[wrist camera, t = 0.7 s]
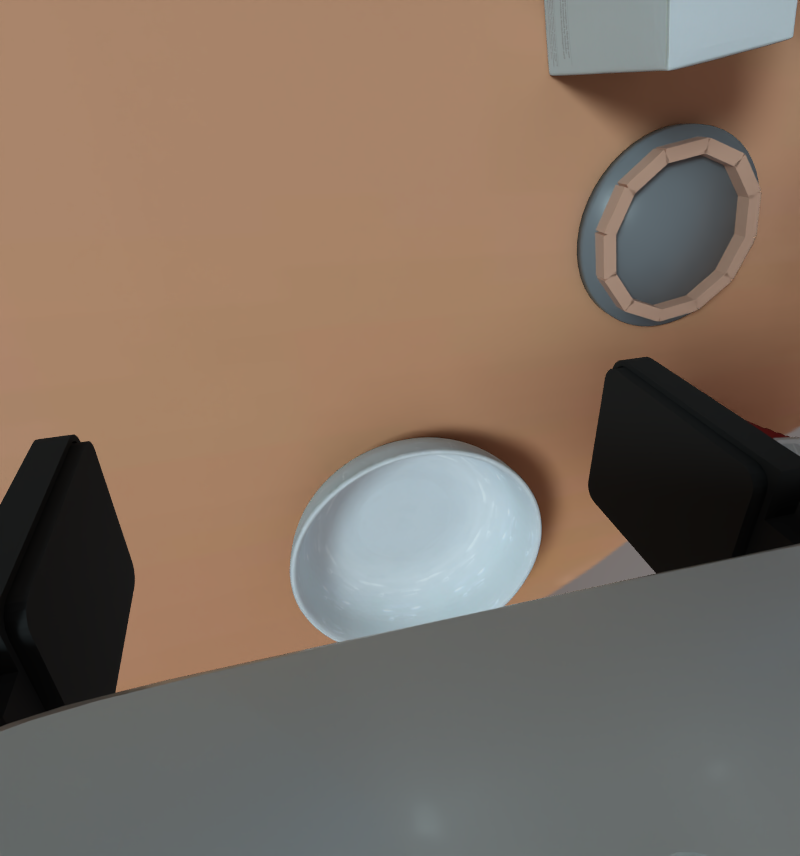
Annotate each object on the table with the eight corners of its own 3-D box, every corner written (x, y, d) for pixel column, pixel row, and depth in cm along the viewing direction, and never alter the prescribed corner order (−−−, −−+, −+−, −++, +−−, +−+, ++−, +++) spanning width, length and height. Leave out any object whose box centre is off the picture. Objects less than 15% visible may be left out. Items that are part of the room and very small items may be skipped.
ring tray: (572, 150, 43) (588, 153, 41) (760, 102, 44) (783, 102, 43) (580, 342, 51) (593, 352, 49) (739, 295, 52) (758, 303, 50)
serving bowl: (289, 406, 47) (299, 451, 41) (532, 410, 53) (570, 450, 47) (277, 607, 56) (283, 667, 51) (484, 591, 62) (511, 643, 56)
